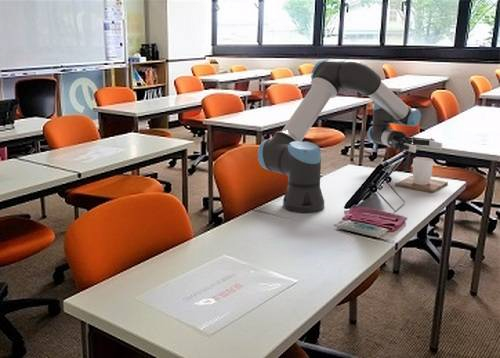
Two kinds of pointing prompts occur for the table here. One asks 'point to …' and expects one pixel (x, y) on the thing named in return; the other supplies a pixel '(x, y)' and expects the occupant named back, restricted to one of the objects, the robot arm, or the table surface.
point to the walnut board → (430, 187)
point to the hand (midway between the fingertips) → (428, 147)
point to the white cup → (422, 170)
